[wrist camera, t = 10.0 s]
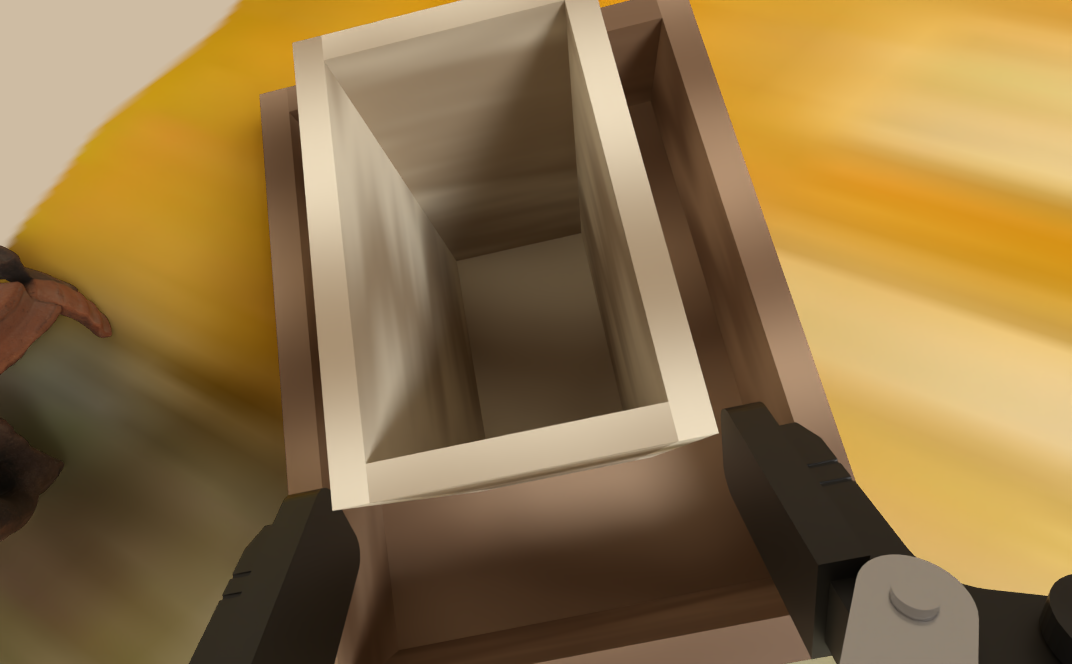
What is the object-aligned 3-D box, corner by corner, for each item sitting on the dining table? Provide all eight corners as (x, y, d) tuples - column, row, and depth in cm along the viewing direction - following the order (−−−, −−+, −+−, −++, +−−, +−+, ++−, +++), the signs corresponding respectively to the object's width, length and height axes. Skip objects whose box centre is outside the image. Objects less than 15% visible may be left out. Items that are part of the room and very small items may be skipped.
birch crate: (443, 256, 21) (292, 42, 11) (593, 222, 21) (589, -32, 11) (480, 491, 19) (331, 510, 8) (651, 457, 19) (718, 433, 8)
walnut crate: (327, 170, 24) (259, 94, 19) (666, 88, 23) (683, -14, 18) (382, 680, 19) (307, 752, 14) (826, 596, 18) (911, 640, 13)
